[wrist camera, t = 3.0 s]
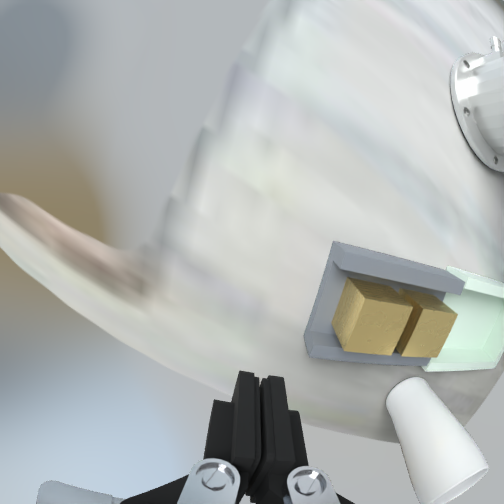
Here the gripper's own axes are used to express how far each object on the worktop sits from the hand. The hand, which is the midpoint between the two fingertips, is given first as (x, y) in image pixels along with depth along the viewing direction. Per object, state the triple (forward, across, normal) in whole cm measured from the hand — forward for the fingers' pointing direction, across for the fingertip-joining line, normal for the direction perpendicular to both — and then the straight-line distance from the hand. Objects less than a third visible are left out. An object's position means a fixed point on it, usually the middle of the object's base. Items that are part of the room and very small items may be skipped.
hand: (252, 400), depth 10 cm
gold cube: (+11, -9, -1) cm, 14 cm away
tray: (+12, -23, -1) cm, 26 cm away
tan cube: (+11, -14, -1) cm, 17 cm away
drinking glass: (+12, -20, +10) cm, 25 cm away
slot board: (+12, -11, -1) cm, 17 cm away
